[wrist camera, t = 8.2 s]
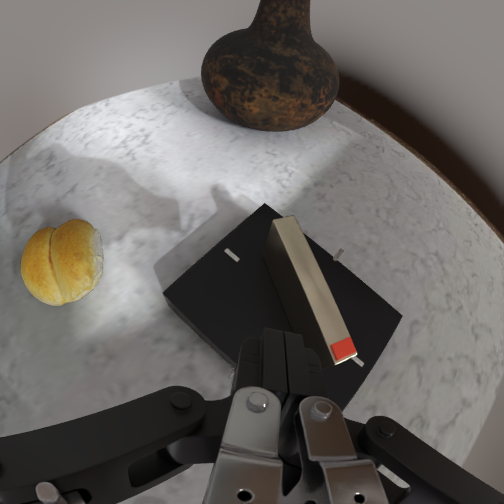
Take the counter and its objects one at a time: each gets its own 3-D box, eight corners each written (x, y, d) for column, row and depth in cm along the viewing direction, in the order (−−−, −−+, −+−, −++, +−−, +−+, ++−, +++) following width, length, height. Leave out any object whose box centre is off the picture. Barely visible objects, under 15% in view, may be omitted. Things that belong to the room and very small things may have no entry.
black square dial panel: (158, 313, 23) (151, 301, 20) (267, 215, 29) (272, 195, 27) (303, 440, 19) (316, 446, 17) (391, 316, 25) (408, 306, 23)
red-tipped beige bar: (261, 254, 24) (273, 217, 19) (279, 250, 24) (295, 212, 19) (309, 373, 19) (337, 364, 15) (328, 365, 20) (360, 353, 15)
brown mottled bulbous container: (306, 87, 44) (346, -56, 19) (340, 156, 35) (421, -40, 11) (201, 82, 41) (212, -77, 16) (200, 153, 32) (214, -93, 8)
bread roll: (32, 241, 24) (15, 221, 21) (103, 223, 27) (91, 199, 23) (29, 315, 21) (6, 300, 17) (108, 300, 23) (91, 282, 20)
